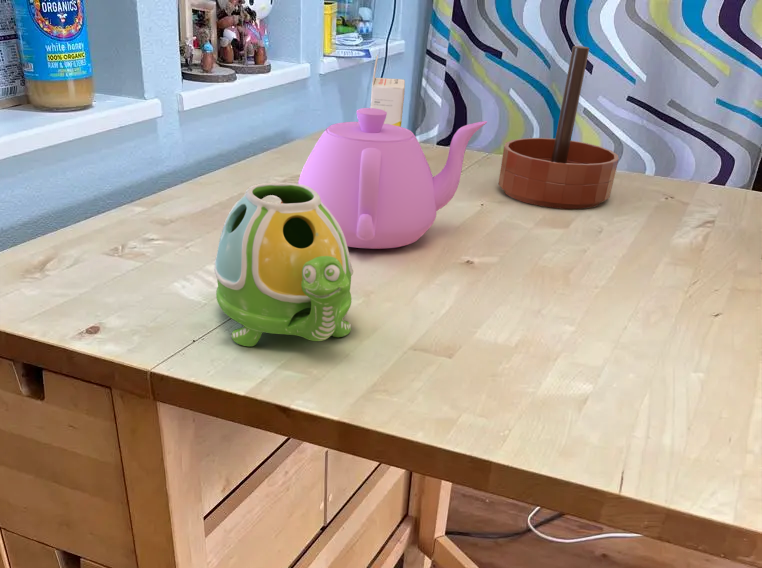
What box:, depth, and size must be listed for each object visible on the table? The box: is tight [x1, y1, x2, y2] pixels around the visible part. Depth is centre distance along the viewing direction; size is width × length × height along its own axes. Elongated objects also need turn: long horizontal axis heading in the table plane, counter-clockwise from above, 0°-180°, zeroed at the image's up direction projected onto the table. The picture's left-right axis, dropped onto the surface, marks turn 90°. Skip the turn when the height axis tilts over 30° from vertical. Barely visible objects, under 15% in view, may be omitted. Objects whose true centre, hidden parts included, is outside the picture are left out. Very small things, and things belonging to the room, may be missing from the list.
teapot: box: [297, 107, 488, 250], centre depth 95 cm, size 22×22×14 cm
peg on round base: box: [551, 45, 590, 163], centre depth 114 cm, size 6×6×18 cm
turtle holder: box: [213, 182, 354, 347], centre depth 71 cm, size 12×18×12 cm
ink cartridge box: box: [369, 54, 406, 127], centre depth 123 cm, size 9×5×15 cm, turn 178°
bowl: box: [498, 137, 620, 210], centre depth 118 cm, size 16×16×6 cm
